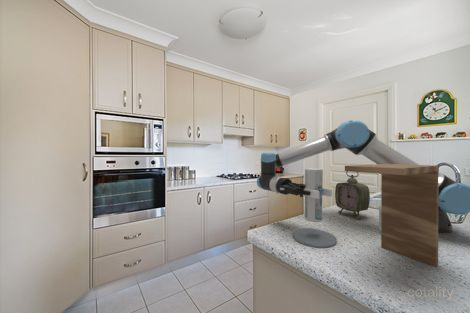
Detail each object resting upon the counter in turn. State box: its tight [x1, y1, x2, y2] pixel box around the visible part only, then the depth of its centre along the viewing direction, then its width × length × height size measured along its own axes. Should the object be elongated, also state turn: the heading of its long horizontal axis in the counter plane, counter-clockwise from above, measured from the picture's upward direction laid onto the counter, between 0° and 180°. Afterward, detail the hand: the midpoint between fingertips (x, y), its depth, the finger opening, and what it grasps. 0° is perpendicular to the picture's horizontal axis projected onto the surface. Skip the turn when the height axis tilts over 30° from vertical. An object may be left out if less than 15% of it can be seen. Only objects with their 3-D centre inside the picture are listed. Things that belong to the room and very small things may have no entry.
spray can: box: [304, 167, 324, 223], centre depth 77 cm, size 6×6×20 cm
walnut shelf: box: [344, 163, 440, 268], centre depth 58 cm, size 24×14×30 cm, turn 120°
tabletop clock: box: [334, 171, 371, 220], centre depth 105 cm, size 14×9×25 cm, turn 23°
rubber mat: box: [292, 227, 338, 249], centre depth 77 cm, size 16×16×1 cm
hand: (325, 194), depth 72 cm, fingers closed on spray can, 6 cm apart
